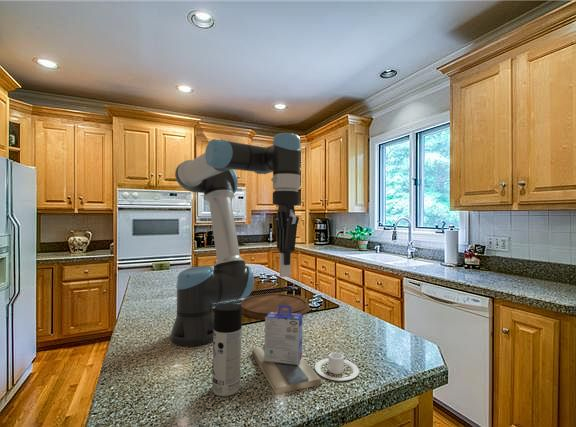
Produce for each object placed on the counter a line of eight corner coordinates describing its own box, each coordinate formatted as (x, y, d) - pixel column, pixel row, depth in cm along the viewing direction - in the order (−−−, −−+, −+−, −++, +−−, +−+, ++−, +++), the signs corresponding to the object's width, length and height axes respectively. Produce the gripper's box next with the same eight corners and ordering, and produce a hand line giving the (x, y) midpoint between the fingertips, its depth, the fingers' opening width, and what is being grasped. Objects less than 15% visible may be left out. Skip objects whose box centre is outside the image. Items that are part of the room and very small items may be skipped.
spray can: (214, 381, 76) (215, 302, 76) (241, 381, 77) (242, 302, 77) (209, 398, 70) (211, 311, 70) (239, 397, 70) (241, 311, 70)
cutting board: (321, 305, 142) (321, 300, 142) (284, 327, 115) (284, 320, 115) (266, 294, 159) (266, 289, 159) (222, 311, 132) (222, 305, 132)
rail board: (275, 394, 72) (275, 384, 72) (252, 353, 92) (252, 345, 92) (321, 384, 76) (321, 375, 76) (288, 347, 96) (289, 340, 96)
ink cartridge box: (302, 356, 86) (303, 305, 86) (299, 366, 80) (300, 311, 80) (269, 352, 88) (269, 302, 88) (263, 361, 82) (264, 308, 82)
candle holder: (338, 356, 92) (338, 342, 92) (368, 375, 82) (368, 359, 81) (306, 367, 85) (306, 351, 85) (334, 388, 75) (334, 371, 75)
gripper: (266, 191, 88) (265, 272, 89) (281, 188, 76) (280, 282, 76) (290, 192, 91) (289, 271, 91) (308, 189, 79) (307, 280, 79)
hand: (284, 276), depth 84 cm, fingers closed
